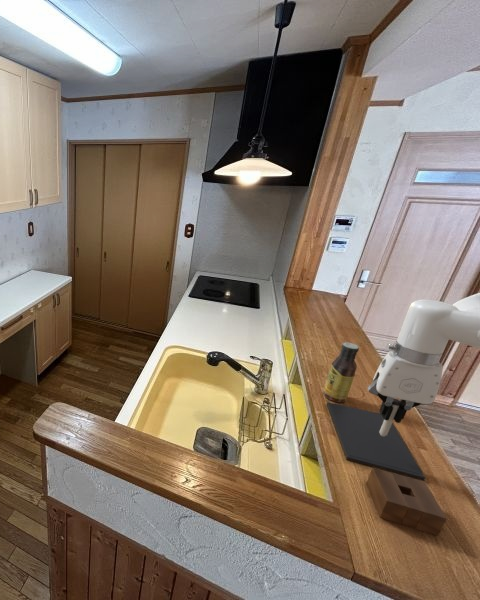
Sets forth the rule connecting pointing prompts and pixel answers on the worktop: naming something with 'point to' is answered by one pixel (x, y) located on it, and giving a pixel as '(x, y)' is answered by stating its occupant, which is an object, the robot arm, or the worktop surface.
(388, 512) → the pen stand
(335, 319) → the worktop surface
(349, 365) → the sauce bottle
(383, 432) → the white thin cylinder
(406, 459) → the plate
